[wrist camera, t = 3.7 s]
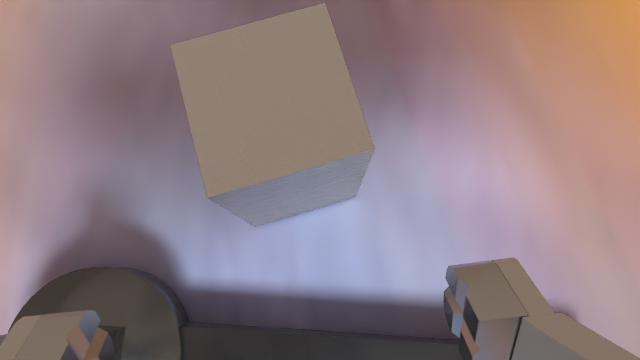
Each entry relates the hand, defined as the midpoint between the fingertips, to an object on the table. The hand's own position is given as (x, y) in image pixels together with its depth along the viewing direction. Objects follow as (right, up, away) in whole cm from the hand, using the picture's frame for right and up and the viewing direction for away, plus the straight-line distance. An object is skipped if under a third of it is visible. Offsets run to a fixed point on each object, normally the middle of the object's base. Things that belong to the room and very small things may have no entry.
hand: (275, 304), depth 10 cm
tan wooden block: (0, +4, +11) cm, 11 cm away
